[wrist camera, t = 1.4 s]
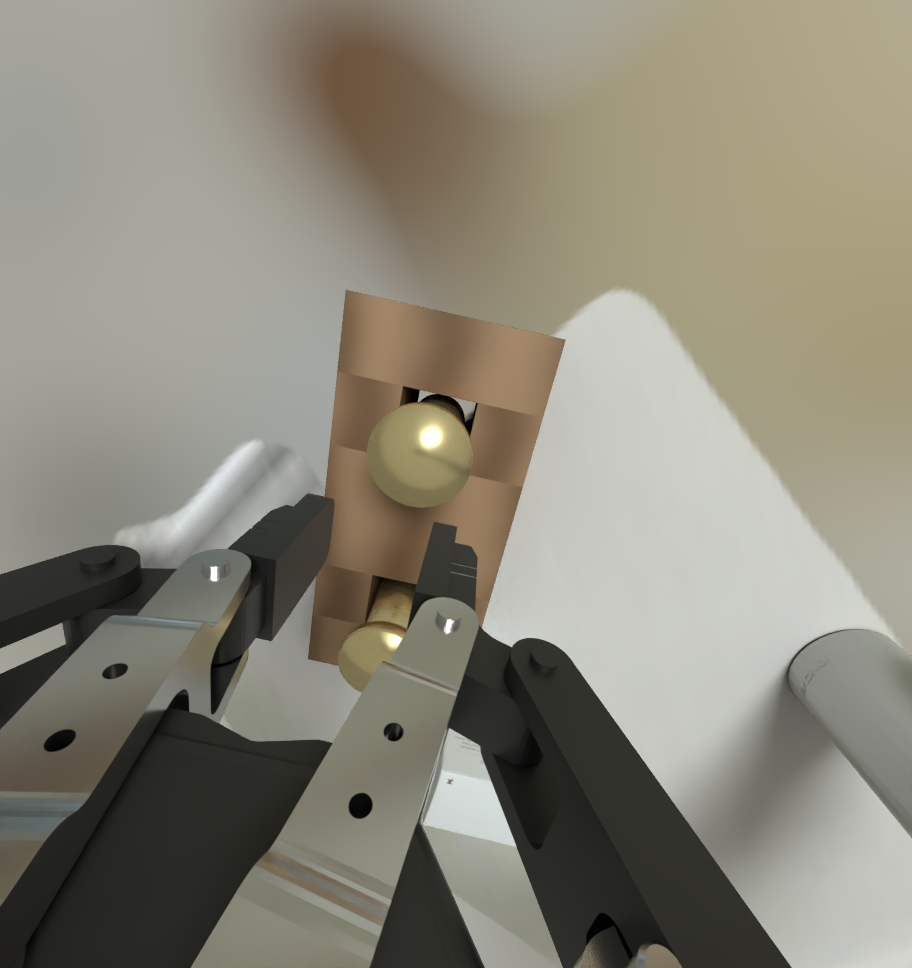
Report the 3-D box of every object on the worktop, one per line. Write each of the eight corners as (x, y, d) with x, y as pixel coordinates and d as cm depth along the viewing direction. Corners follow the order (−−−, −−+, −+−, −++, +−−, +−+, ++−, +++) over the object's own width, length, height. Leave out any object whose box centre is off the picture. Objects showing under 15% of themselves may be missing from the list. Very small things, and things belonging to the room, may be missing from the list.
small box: (439, 682, 42) (419, 826, 30) (454, 633, 40) (439, 769, 28) (516, 702, 43) (527, 853, 30) (536, 655, 40) (556, 798, 28)
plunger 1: (444, 562, 31) (430, 642, 24) (432, 615, 33) (414, 705, 25) (379, 548, 31) (343, 623, 24) (370, 601, 33) (334, 688, 25)
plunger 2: (484, 390, 27) (483, 419, 19) (467, 463, 29) (459, 517, 21) (407, 373, 27) (374, 394, 19) (395, 447, 28) (360, 495, 21)
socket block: (546, 335, 30) (565, 339, 22) (467, 622, 39) (462, 692, 32) (381, 297, 30) (345, 289, 22) (342, 595, 39) (308, 658, 32)
